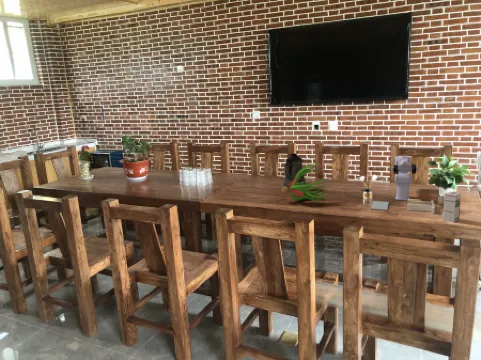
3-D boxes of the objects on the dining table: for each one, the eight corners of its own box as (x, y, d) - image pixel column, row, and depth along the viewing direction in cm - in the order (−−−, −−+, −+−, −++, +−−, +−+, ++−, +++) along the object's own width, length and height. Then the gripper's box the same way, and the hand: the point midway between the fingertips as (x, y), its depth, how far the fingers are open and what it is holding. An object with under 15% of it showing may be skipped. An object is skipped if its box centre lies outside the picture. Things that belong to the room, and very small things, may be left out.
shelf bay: (407, 204, 233) (407, 198, 233) (433, 205, 228) (433, 200, 227) (407, 211, 219) (407, 205, 218) (434, 213, 214) (434, 207, 213)
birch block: (407, 207, 228) (407, 198, 227) (420, 208, 226) (421, 199, 224) (407, 209, 224) (407, 200, 223) (420, 210, 222) (421, 201, 220)
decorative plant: (279, 206, 258) (321, 200, 264) (291, 209, 234) (337, 202, 240) (274, 167, 258) (316, 162, 264) (286, 166, 233) (332, 160, 239)
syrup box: (453, 222, 200) (456, 194, 197) (442, 219, 204) (444, 192, 201) (459, 219, 203) (461, 192, 200) (447, 217, 208) (449, 190, 205)
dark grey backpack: (306, 185, 290) (306, 151, 285) (306, 191, 272) (306, 156, 266) (284, 185, 293) (283, 152, 288) (282, 191, 275) (281, 156, 269)
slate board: (373, 201, 241) (373, 200, 241) (388, 202, 238) (388, 201, 237) (370, 209, 227) (370, 208, 227) (387, 210, 223) (387, 209, 223)
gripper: (391, 160, 236) (391, 165, 224) (417, 159, 231) (419, 165, 219) (391, 171, 238) (391, 177, 226) (417, 171, 233) (419, 177, 221)
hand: (405, 172), depth 223 cm, fingers open, 7 cm apart
